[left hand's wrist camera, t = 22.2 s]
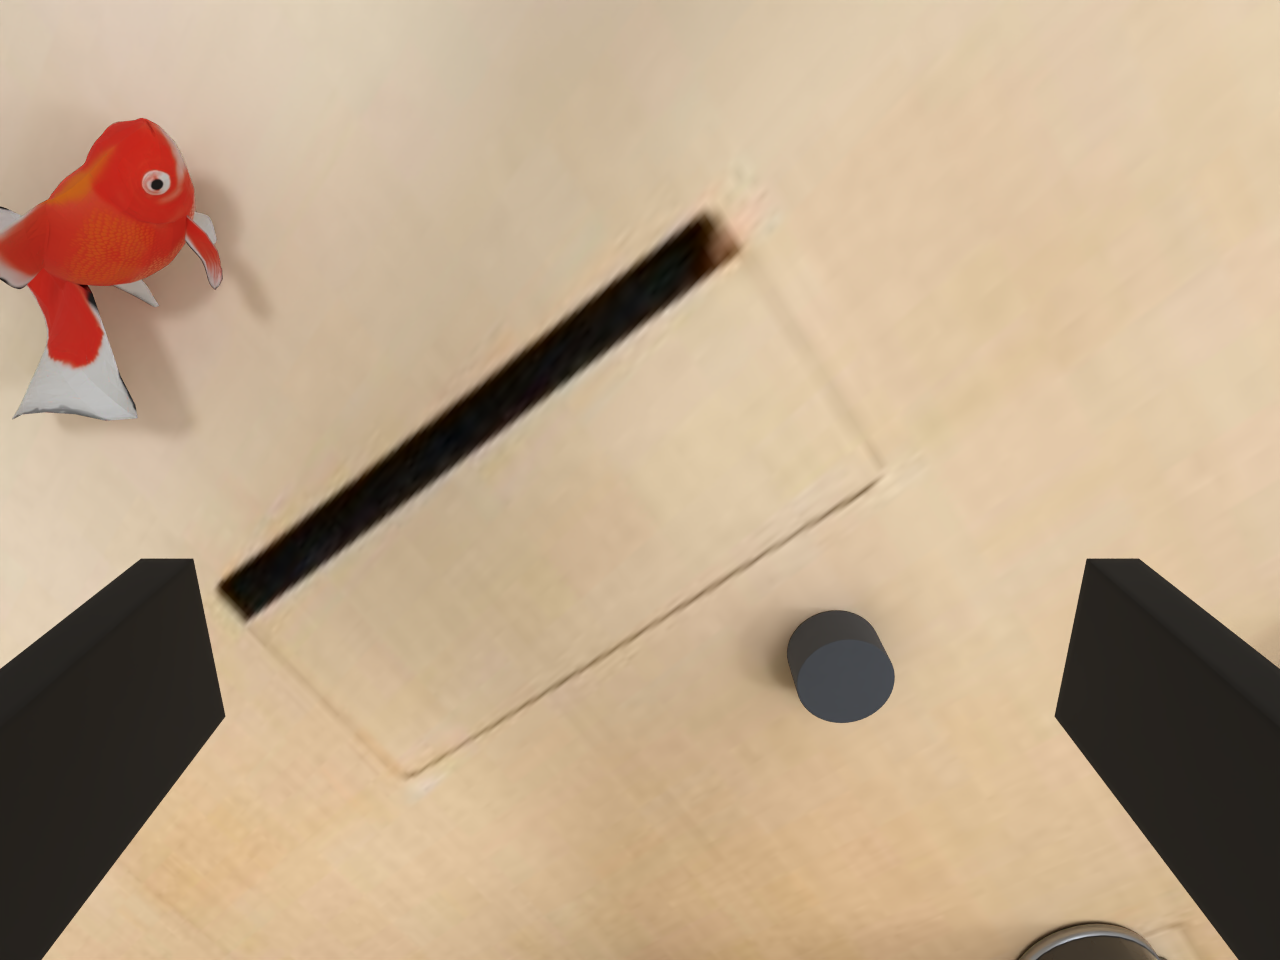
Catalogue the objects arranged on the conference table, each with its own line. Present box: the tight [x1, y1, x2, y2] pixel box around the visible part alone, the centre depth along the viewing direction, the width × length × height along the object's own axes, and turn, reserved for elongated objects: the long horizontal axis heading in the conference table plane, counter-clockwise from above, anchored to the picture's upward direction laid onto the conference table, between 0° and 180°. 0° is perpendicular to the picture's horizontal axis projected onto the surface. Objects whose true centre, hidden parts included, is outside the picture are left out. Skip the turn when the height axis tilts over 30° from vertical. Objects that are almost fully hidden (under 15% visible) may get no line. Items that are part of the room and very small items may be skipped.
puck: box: [787, 611, 895, 723], centre depth 44 cm, size 5×5×3 cm
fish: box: [0, 118, 223, 421], centre depth 35 cm, size 11×16×10 cm
